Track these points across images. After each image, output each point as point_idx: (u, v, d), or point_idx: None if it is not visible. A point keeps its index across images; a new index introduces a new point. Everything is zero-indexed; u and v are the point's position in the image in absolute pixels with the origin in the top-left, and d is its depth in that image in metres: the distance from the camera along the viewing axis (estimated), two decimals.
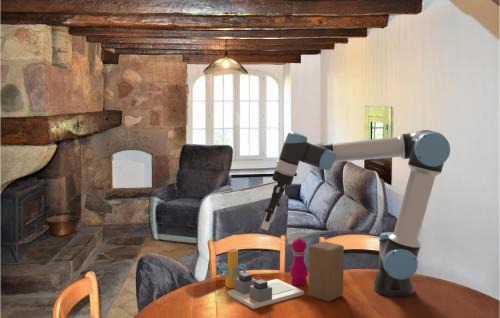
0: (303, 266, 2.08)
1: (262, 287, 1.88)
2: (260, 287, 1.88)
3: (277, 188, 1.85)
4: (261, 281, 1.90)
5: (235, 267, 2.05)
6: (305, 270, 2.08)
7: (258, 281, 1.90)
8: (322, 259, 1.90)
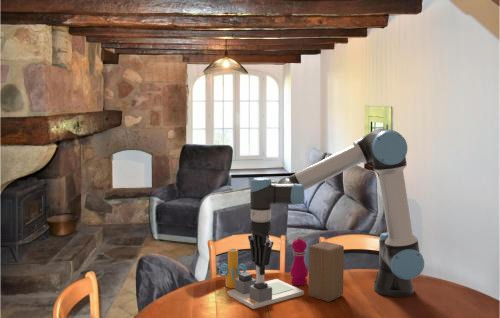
0: (303, 266, 2.08)
1: None
2: None
3: (269, 244, 1.83)
4: (261, 283, 1.90)
5: (235, 267, 2.05)
6: (305, 270, 2.08)
7: None
8: (322, 259, 1.90)
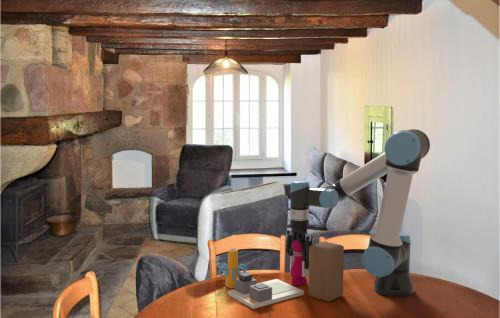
0: None
1: None
2: None
3: (309, 238, 2.03)
4: (261, 286, 1.90)
5: (235, 267, 2.05)
6: None
7: (258, 286, 1.90)
8: (322, 259, 1.90)
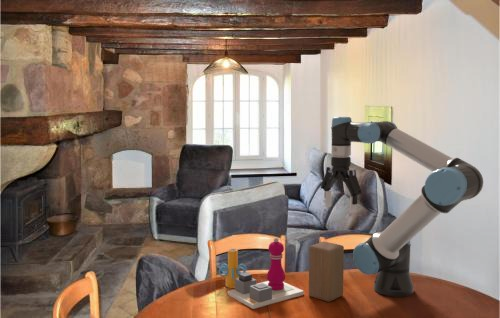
0: (280, 270, 1.98)
1: None
2: None
3: (352, 171, 1.95)
4: (261, 286, 1.90)
5: (235, 267, 2.05)
6: (282, 274, 1.98)
7: (258, 286, 1.90)
8: (322, 259, 1.90)
